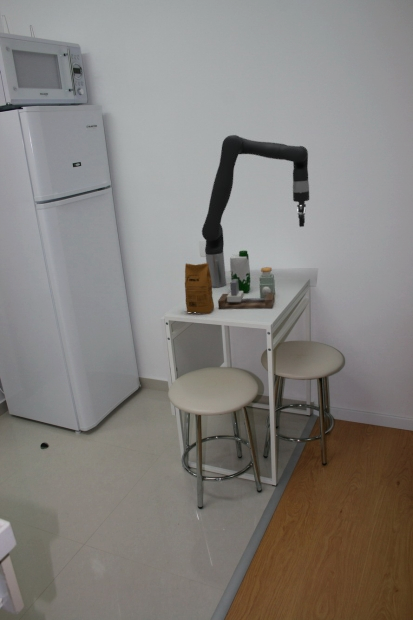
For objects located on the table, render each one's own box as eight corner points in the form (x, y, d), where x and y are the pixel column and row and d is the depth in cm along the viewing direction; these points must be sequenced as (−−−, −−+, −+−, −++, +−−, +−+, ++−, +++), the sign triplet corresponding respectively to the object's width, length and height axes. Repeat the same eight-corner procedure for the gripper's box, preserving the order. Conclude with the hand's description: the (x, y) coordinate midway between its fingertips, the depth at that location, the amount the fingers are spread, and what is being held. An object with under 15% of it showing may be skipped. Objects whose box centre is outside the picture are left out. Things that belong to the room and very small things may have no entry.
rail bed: (218, 309, 224) (218, 300, 223) (223, 301, 234) (222, 293, 232) (272, 308, 218) (271, 299, 217) (274, 301, 228) (274, 292, 226)
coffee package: (191, 307, 231) (186, 260, 224) (217, 307, 227) (212, 260, 220) (183, 314, 222) (177, 266, 215) (210, 315, 218) (205, 266, 211)
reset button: (260, 278, 230) (260, 270, 229) (262, 275, 235) (261, 267, 233) (271, 278, 229) (270, 269, 228) (272, 275, 233) (272, 267, 232)
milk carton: (249, 293, 242) (246, 253, 235) (231, 294, 244) (227, 254, 237) (252, 288, 250) (249, 249, 243) (234, 289, 252) (230, 250, 245)
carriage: (227, 301, 223) (225, 283, 221) (230, 296, 231) (229, 278, 228) (240, 301, 222) (239, 283, 219) (243, 296, 229) (242, 278, 226)
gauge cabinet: (260, 299, 232) (258, 278, 229) (262, 293, 239) (261, 273, 236) (273, 299, 230) (272, 278, 227) (275, 293, 238) (274, 273, 235)
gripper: (293, 189, 243) (294, 222, 248) (292, 193, 230) (293, 228, 235) (309, 188, 241) (310, 221, 246) (308, 191, 228) (309, 227, 233)
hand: (302, 224), depth 241 cm, fingers open, 8 cm apart
